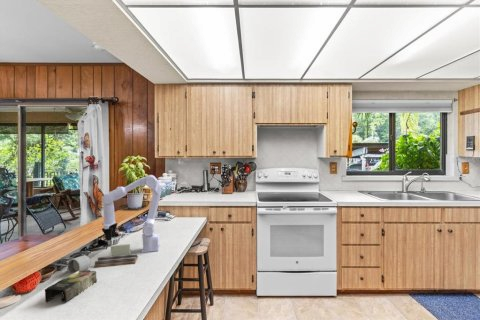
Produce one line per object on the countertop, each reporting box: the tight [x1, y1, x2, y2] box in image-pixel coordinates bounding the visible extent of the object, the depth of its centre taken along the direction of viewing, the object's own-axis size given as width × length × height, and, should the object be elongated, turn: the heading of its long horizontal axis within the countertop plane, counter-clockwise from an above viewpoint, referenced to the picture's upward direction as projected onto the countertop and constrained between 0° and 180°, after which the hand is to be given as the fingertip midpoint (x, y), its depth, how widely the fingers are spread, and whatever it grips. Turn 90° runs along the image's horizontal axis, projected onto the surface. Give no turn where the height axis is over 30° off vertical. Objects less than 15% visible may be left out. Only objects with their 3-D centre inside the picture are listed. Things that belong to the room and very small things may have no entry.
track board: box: [93, 253, 139, 269], centre depth 158 cm, size 20×9×2 cm, turn 99°
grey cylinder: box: [66, 255, 92, 275], centre depth 147 cm, size 11×8×8 cm
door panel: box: [110, 243, 131, 256], centre depth 168 cm, size 10×2×6 cm, turn 99°
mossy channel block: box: [44, 269, 98, 303], centre depth 126 cm, size 20×10×6 cm, turn 169°
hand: (110, 238), depth 169 cm, fingers open, 7 cm apart
